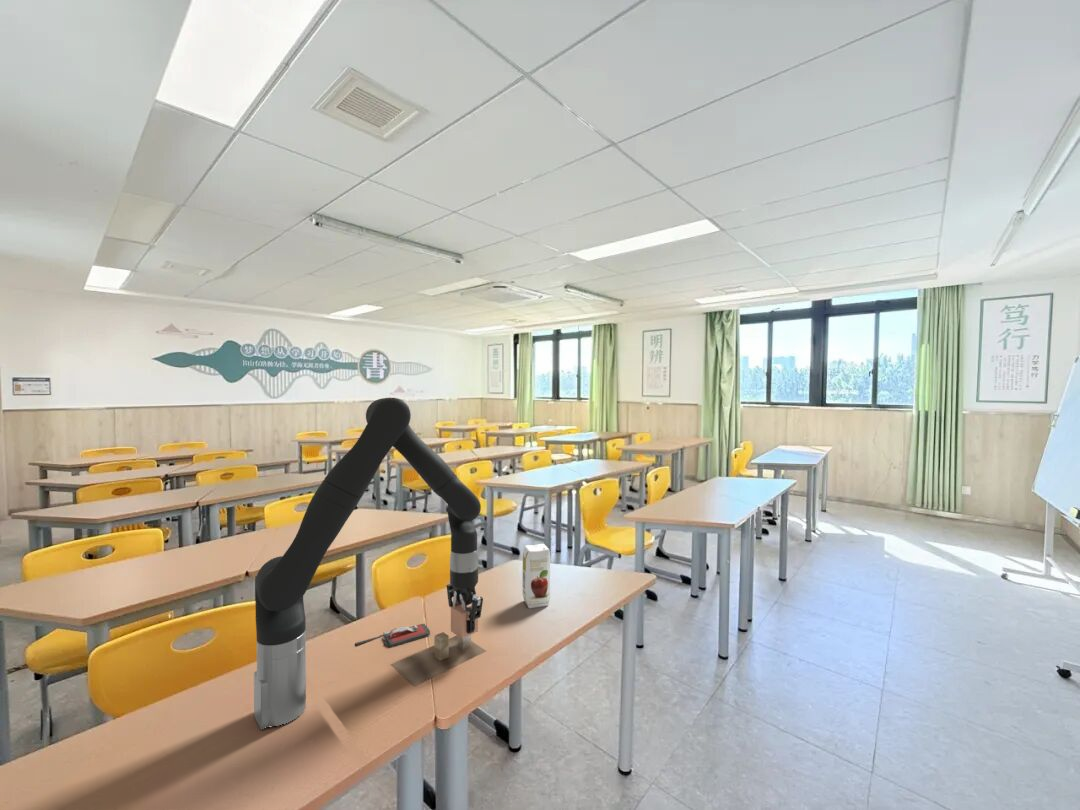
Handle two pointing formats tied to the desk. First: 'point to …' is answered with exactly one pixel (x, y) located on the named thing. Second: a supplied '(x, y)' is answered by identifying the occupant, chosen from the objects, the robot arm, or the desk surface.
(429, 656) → the board
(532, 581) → the juice carton
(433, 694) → the desk surface
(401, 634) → the walkie-talkie
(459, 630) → the peach cube
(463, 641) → the post
